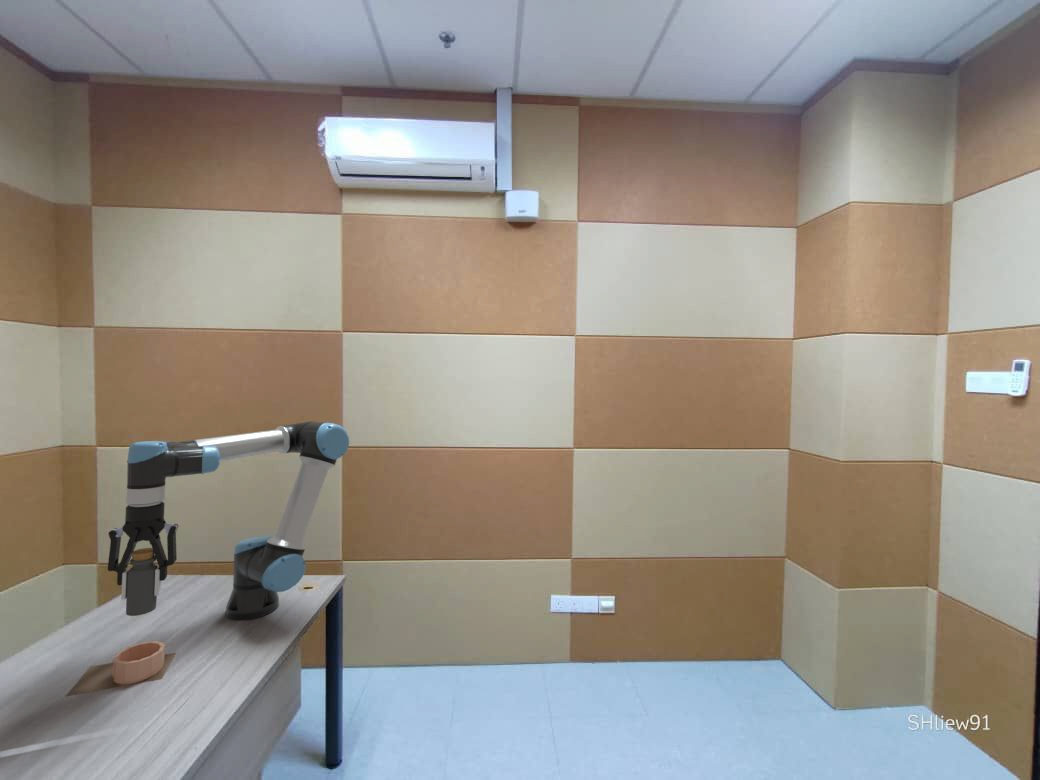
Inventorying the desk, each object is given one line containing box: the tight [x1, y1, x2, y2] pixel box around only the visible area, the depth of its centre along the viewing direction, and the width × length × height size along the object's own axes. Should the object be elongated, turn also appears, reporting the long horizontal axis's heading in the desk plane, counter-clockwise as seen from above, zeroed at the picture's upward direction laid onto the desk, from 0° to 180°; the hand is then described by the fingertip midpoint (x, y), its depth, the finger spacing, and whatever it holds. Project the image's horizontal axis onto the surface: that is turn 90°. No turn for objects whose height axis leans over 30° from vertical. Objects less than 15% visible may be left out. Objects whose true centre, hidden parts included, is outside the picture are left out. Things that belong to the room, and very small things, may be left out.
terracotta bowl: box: [112, 640, 166, 686], centre depth 113 cm, size 10×10×5 cm
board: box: [65, 652, 177, 697], centre depth 112 cm, size 18×12×1 cm, turn 113°
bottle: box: [125, 547, 159, 617], centre depth 113 cm, size 6×6×15 cm
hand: (141, 595), depth 113 cm, fingers closed on bottle, 6 cm apart
